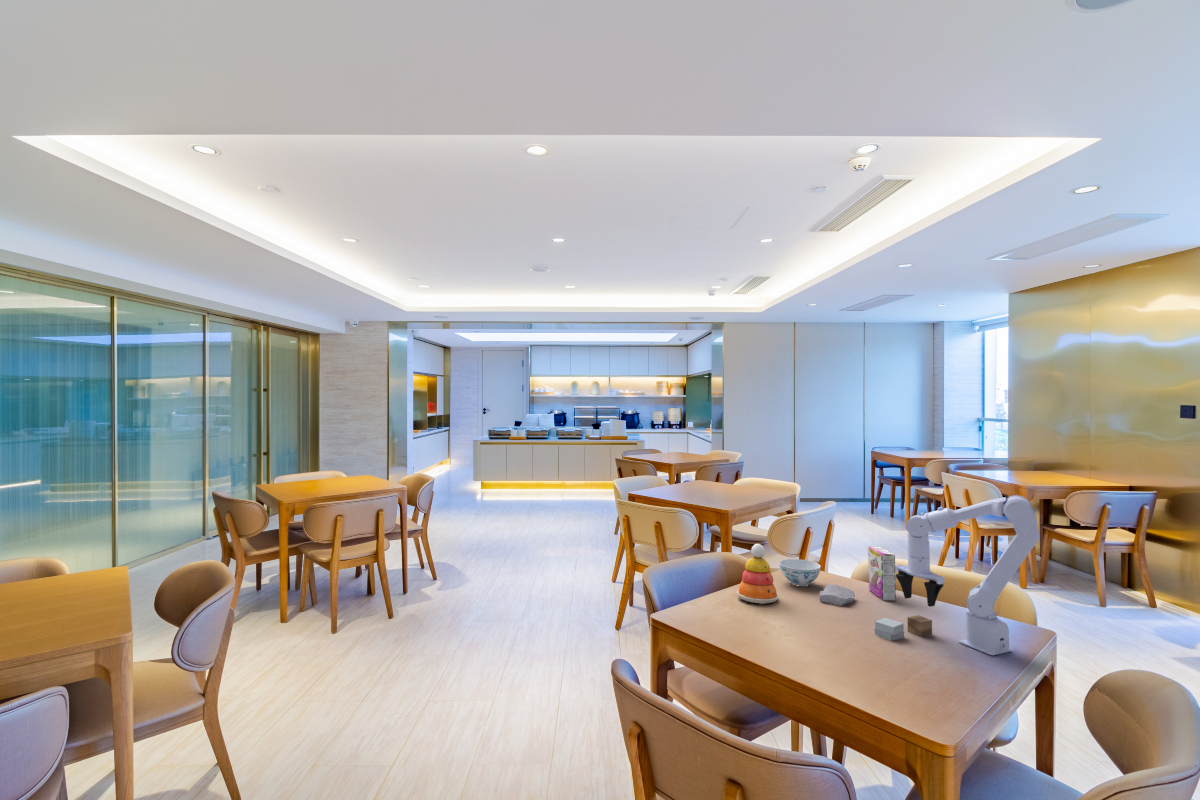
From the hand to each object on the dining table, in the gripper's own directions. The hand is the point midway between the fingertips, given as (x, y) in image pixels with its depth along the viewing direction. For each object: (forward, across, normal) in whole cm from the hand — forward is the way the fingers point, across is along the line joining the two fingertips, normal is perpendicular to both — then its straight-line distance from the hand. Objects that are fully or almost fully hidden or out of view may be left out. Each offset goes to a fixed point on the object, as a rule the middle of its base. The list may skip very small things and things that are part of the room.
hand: (919, 601), depth 164 cm
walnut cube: (+10, 0, 0) cm, 10 cm away
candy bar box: (+10, +29, -19) cm, 36 cm away
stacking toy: (+10, +44, +25) cm, 51 cm away
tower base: (+10, +2, +10) cm, 14 cm away
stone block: (+10, +32, -1) cm, 33 cm away
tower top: (+8, +2, +10) cm, 13 cm away
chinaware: (+10, +51, -1) cm, 52 cm away
